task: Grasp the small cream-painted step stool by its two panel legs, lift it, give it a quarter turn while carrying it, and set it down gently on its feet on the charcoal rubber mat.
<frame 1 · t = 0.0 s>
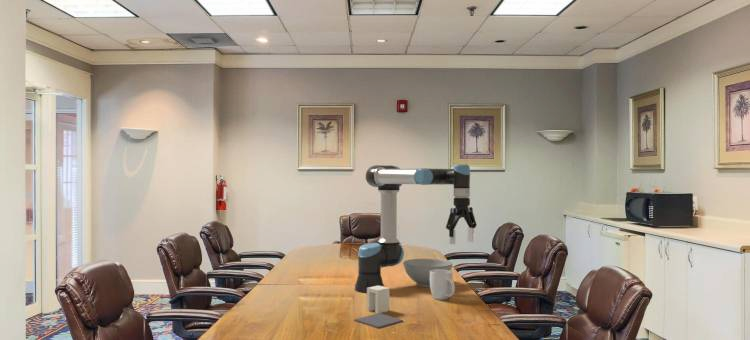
hand: (461, 242, 239), 28 cm above the table, fingers open, 13 cm apart
mug: (442, 299, 247), on the table
mat: (378, 321, 209), on the table
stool: (378, 310, 225), on the table
decorative bowl: (427, 285, 279), on the table
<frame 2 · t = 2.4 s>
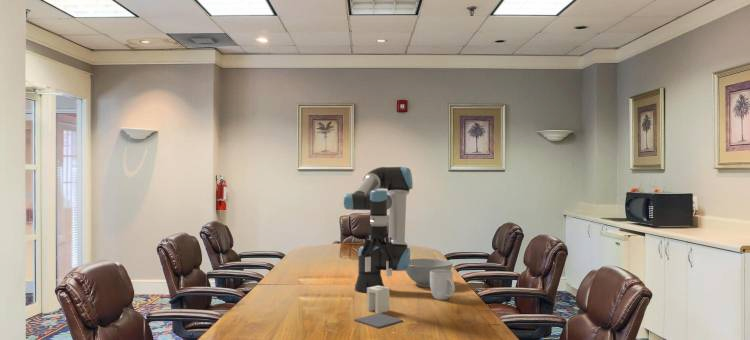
hand: (378, 273, 225), 16 cm above the table, fingers open, 13 cm apart
nothing on the table moved.
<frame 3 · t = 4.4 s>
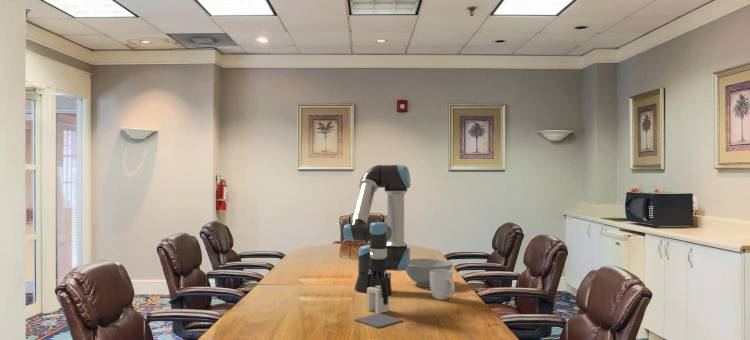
hand: (377, 310, 225), 0 cm above the table, fingers closed on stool, 7 cm apart
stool: (378, 310, 225), on the table, touching gripper
everything else where it was.
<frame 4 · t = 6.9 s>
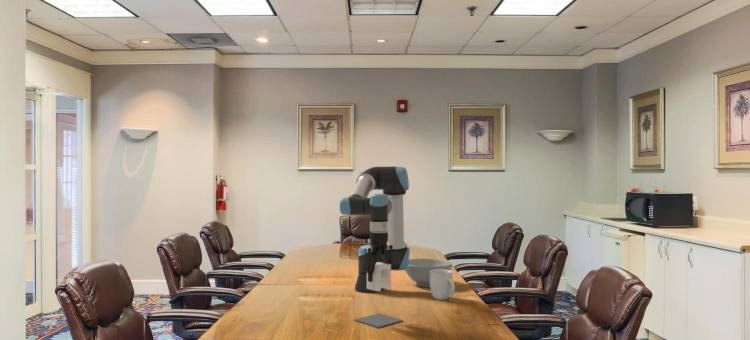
hand: (378, 288, 209), 13 cm above the table, fingers closed on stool, 7 cm apart
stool: (378, 288, 209), point 13 cm above the table, touching gripper
everything else where it was.
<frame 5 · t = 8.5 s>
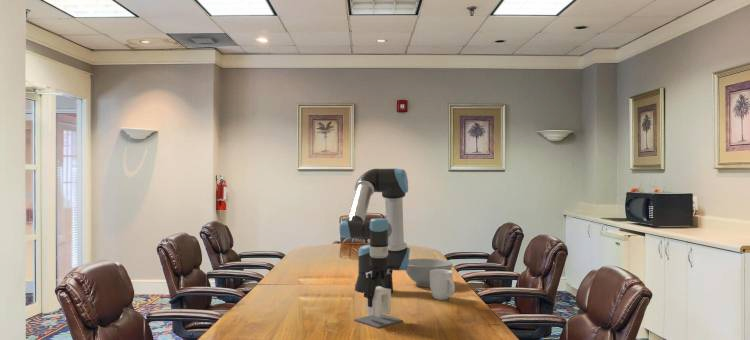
hand: (378, 312, 209), 3 cm above the table, fingers closed on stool, 7 cm apart
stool: (378, 313, 209), point 3 cm above the table, touching gripper
everything else where it was.
when the fingers open (2 cm above the table, at t = 9.6 s): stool drops 1 cm, resting on mat.
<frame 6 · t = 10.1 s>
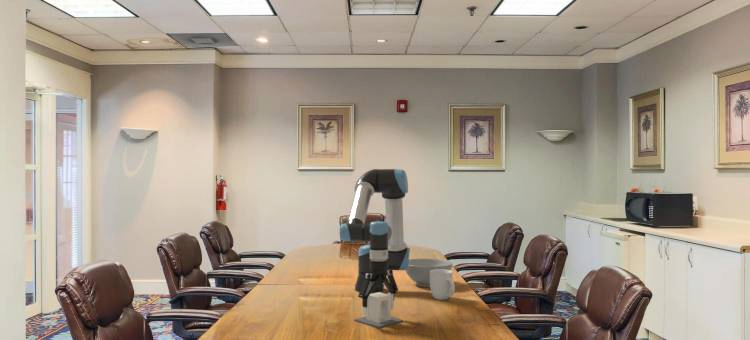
hand: (378, 312, 209), 4 cm above the table, fingers open, 13 cm apart
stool: (378, 319, 209), point 1 cm above the table, touching mat
everything else where it was.
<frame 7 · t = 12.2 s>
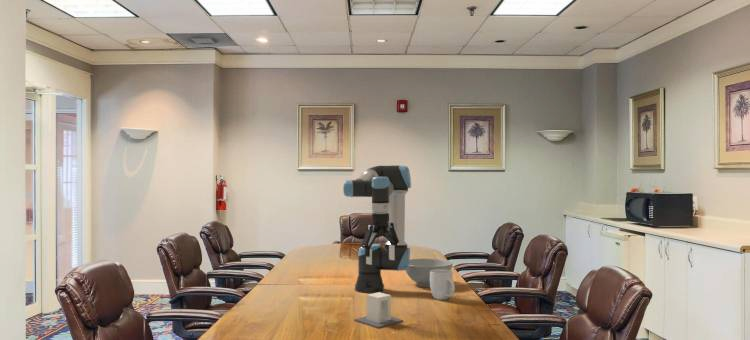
hand: (380, 261, 220), 22 cm above the table, fingers open, 13 cm apart
nothing on the table moved.
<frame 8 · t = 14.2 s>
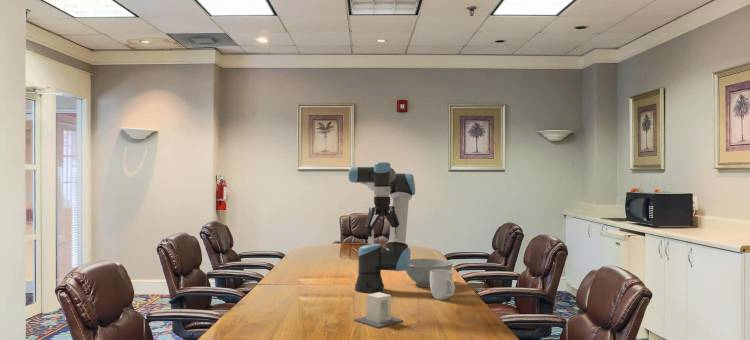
hand: (381, 242, 234), 29 cm above the table, fingers open, 13 cm apart
nothing on the table moved.
at the end: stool inside the target area on the mat (0.1 cm from its centre), point 0.6 cm above the mat's base; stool tilted 0°; the gripper is holding nothing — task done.
